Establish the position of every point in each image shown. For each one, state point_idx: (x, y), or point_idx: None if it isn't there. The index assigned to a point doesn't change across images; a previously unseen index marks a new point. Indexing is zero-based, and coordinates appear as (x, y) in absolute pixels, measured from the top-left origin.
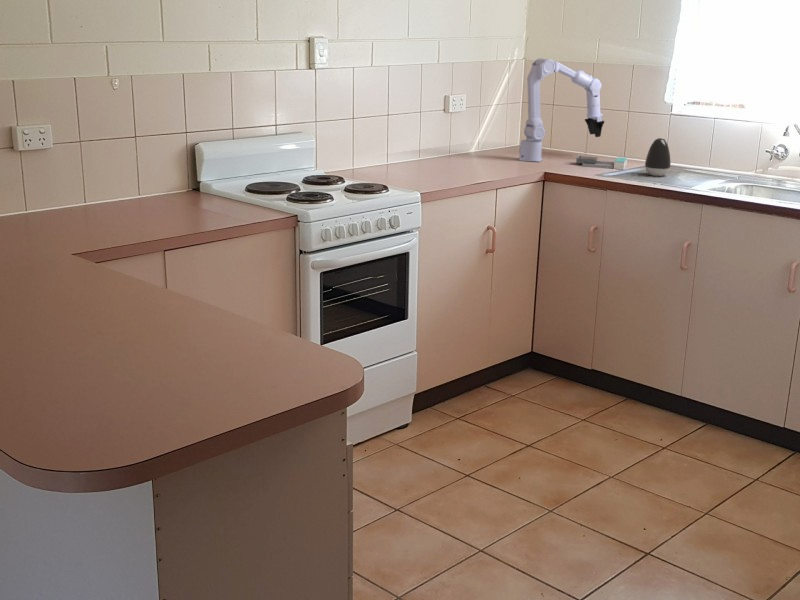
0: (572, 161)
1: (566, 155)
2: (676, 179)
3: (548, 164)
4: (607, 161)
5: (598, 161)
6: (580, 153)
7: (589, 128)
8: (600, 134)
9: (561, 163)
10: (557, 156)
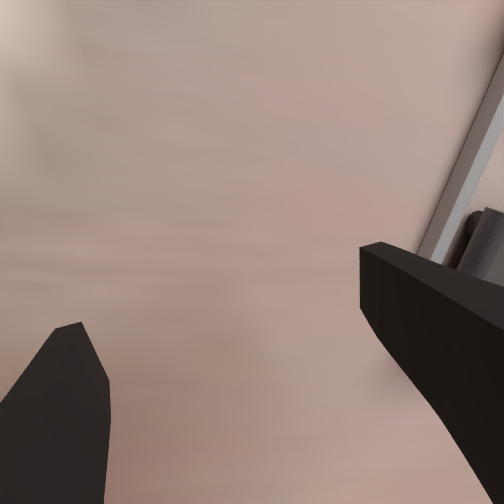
0: (360, 361)
1: None
2: None
3: (469, 469)
4: (497, 118)
5: (469, 193)
6: None
7: (102, 492)
8: (408, 253)
9: None
10: (147, 459)
